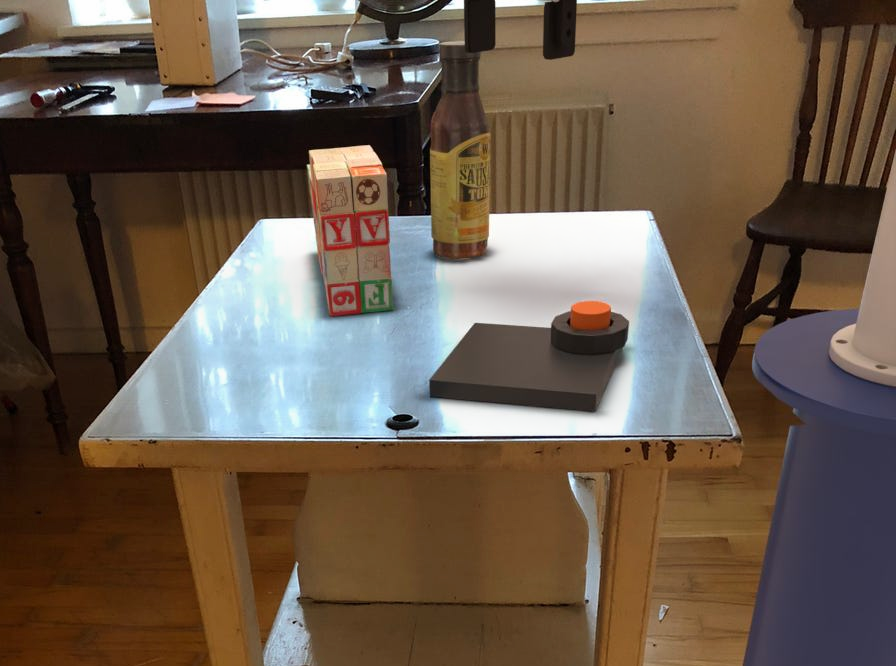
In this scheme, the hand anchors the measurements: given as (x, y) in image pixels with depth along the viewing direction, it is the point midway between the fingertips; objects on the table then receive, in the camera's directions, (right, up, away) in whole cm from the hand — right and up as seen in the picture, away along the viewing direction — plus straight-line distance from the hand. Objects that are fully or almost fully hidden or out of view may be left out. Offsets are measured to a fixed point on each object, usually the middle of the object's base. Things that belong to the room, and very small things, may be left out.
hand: (518, 54), depth 84 cm
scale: (0, -29, -5) cm, 29 cm away
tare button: (+5, -25, -4) cm, 26 cm away
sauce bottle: (-4, -8, +23) cm, 25 cm away
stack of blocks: (-15, -13, +17) cm, 27 cm away
